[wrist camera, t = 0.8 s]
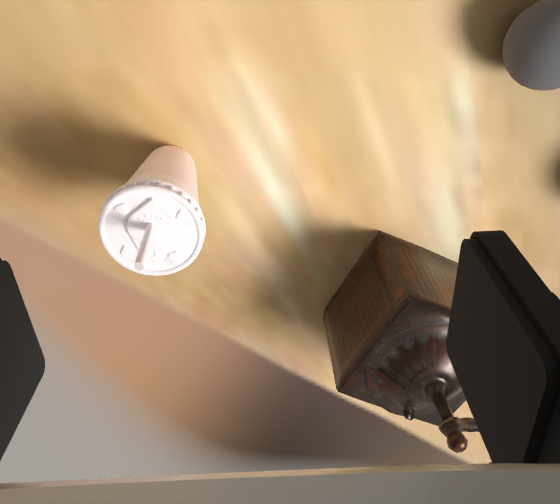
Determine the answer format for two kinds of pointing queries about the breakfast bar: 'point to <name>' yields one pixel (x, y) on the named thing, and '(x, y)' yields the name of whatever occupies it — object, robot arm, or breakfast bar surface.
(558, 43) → the gray ball
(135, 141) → the breakfast bar surface
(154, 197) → the smoothie
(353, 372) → the brown coffee grinder
